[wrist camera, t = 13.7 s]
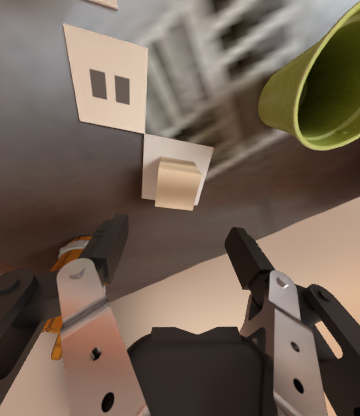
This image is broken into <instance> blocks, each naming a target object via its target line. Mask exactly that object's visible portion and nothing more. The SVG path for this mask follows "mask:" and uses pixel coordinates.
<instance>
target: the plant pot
mask: <svg viewBox="0 0 360 416" xmlns="http://www.w3.org/2000/svg"><path fill="white" fill-rule="evenodd" d="M302 88H303V92H302ZM301 92H302V96H301V98H300V95H301ZM258 114H259V117H260V119H261V120H262V121H263V122H264V123H265V124H266V125H267V126H270V127H273V128H276V129H279V130H282V131H285V132H288V133H291V134H292V135H293V136H295V137H296V138H297V139H298V141H299V142H300V143H301V144H303V145H304V146H306V147H308V148H311V149H314V150H329V149H333V148H337V147H340V146H343V145H346V144H348V143H350V142H352V141H354V140H356V139H357V138H359V137H360V1H359V2H358V3H356V4H355V5H354V6H353V7H352V8H351V9H350V10H348V11H347V12H346V13H345V14H344V15H343V16H342V17H341V18H340V19H339V20H338V21H337V23H336V24H335V25H334V26H333V27H332V28H331V29H330V31H329V32H328V33H327V34H326V35H325V36H324V37H323V38H322V39H321V40H320V41H319V42H318V43H316V44H315V45H313V46H312V47H311V48H309V49H308V50H306V51H305V52H304V53H302V54H301V55H299V56H298V57H296V58H295V59H294V60H292V61H291V62H289V63H288V64H287V65H285V66H284V67H282V68H281V69H279V70H278V71H277V72H275V73H274V74H273V75H272V76H271V78H270V79H269V80H268V82H267V83H266V85H265V87H264V88H263V90H262V92H261V94H260V97H259V102H258Z"/></svg>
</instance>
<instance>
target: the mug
mask: <svg viewBox="0 0 360 416" xmlns="http://www.w3.org/2000/svg"><path fill="white" fill-rule="evenodd" d="M92 237H93V236H81V237H77V238H75V239H73V240H72V241H71V242H70V243H69V244H68V245H66V246H65V247H62V248H61V249H60V254H59V256H58V261H57V262H56V264H55V265H54V266H53V268H52V269H51V270H50V272H52V271H56V270H60V269H61V268H62V267H64V266H65V265H66V264H67V263H69V262H71V261H73V260H76V259H77V258H78V257H79V255H80V254H81V252H82V251H83V249H84V248H85V247H86V245H87V244H88V242H89V241H90V239H91V238H92ZM105 286H106V284H104V287H103V290H104V293H105V292H106V289H105ZM62 325H63V322H62V315H61V316H58V317H55V318H52V319H49V320H48V321H47V322H46V324H45V326H44V328H43V330H42V331H41V332H44V331H46V332H51V333H58V337H57V339H56V342H55V345H54V348H53V351H52V354H51V359H52V360H60V359H61V358H62V357H63V355H62V347H61V338H60V330H61V327H62Z"/></svg>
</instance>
